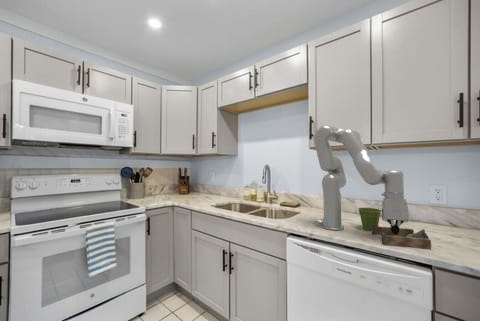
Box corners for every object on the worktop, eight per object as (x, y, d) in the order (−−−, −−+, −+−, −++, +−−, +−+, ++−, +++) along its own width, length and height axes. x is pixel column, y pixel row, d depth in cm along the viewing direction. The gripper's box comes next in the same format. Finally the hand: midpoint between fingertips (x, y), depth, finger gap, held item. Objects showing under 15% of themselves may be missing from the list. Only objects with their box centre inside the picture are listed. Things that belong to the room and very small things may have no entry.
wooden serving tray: (383, 244, 97) (382, 234, 97) (372, 233, 114) (371, 224, 114) (431, 249, 92) (430, 238, 92) (412, 236, 108) (412, 227, 108)
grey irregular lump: (400, 238, 108) (402, 225, 101) (415, 234, 107) (418, 222, 100) (412, 256, 101) (415, 244, 94) (428, 253, 100) (433, 241, 92)
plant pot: (356, 225, 129) (356, 206, 129) (379, 227, 125) (378, 208, 125) (360, 231, 118) (359, 210, 118) (385, 233, 114) (384, 212, 114)
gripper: (378, 196, 102) (379, 234, 102) (416, 197, 98) (417, 237, 97) (374, 194, 110) (375, 230, 109) (408, 195, 105) (410, 232, 104)
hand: (395, 233), depth 103 cm, fingers closed
